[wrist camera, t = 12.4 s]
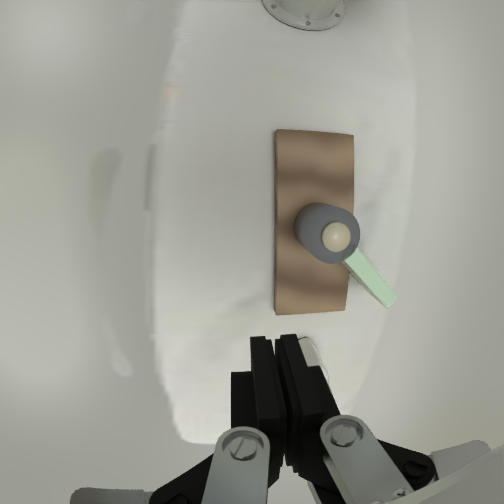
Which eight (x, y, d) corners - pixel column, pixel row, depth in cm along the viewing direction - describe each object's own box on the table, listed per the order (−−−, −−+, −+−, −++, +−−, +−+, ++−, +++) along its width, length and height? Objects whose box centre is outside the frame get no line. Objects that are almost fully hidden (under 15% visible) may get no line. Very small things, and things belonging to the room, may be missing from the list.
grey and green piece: (284, 227, 34) (296, 238, 27) (317, 192, 33) (338, 195, 26) (356, 300, 37) (378, 323, 30) (385, 270, 36) (411, 287, 29)
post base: (274, 132, 33) (277, 128, 31) (347, 137, 34) (354, 135, 32) (273, 309, 39) (276, 316, 37) (340, 304, 40) (345, 310, 37)
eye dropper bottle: (322, 337, 41) (349, 385, 29) (312, 365, 42) (334, 416, 30) (296, 335, 40) (316, 386, 29) (287, 364, 42) (302, 417, 30)
